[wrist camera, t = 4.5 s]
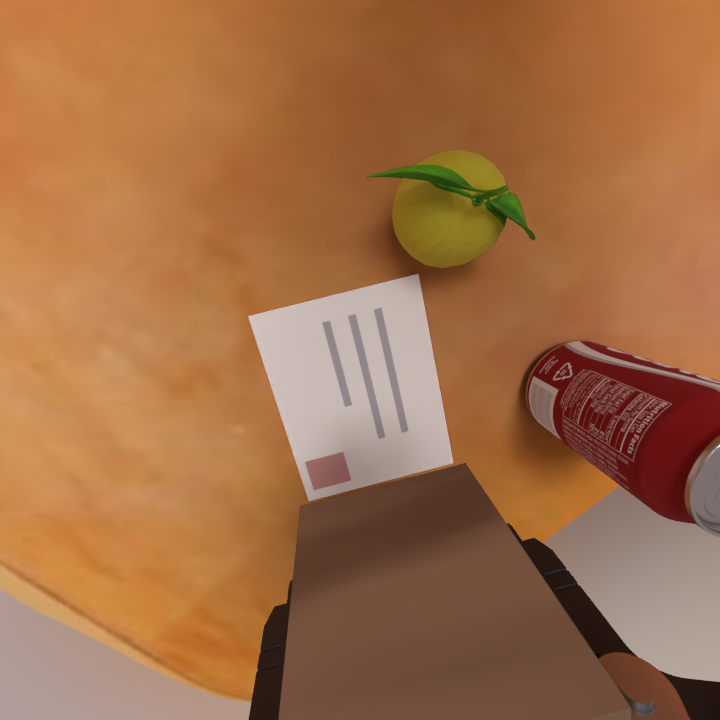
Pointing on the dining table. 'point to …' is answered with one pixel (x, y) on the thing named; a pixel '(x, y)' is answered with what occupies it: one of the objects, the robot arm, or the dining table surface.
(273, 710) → the robot arm
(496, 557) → the walnut block
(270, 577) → the dining table surface
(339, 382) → the letter
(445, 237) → the lemon
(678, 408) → the soda can
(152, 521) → the dining table surface
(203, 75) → the dining table surface
